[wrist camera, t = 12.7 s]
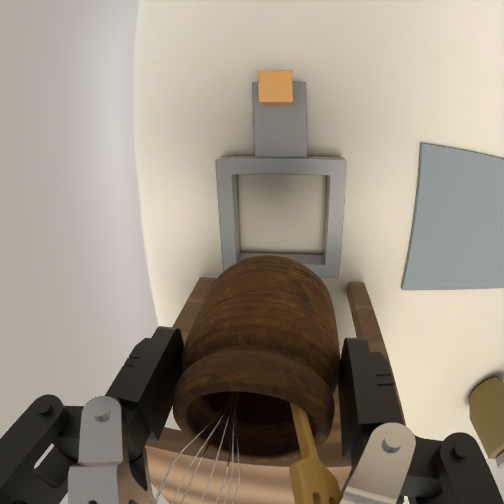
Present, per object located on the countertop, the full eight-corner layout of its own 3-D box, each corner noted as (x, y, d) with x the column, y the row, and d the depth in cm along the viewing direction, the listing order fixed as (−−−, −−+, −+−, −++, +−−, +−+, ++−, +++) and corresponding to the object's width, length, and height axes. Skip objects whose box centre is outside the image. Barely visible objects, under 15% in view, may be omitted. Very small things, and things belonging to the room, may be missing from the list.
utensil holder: (186, 298, 15) (70, 525, 4) (279, 217, 12) (207, 578, 2) (266, 365, 16) (229, 577, 5) (361, 307, 14) (401, 571, 3)
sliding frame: (218, 86, 22) (194, 76, 16) (341, 84, 20) (357, 73, 15) (228, 264, 28) (212, 300, 23) (335, 267, 27) (344, 305, 21)
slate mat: (420, 142, 21) (422, 143, 21) (527, 165, 20) (530, 166, 19) (400, 287, 27) (402, 290, 27) (501, 285, 25) (503, 287, 25)
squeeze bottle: (455, 409, 35) (482, 501, 18) (475, 375, 31) (514, 475, 15) (491, 400, 33) (521, 482, 17) (511, 367, 30) (553, 454, 14)
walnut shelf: (200, 277, 30) (114, 436, 13) (364, 282, 28) (412, 459, 11) (215, 381, 36) (176, 510, 20) (341, 388, 34) (348, 524, 17)
